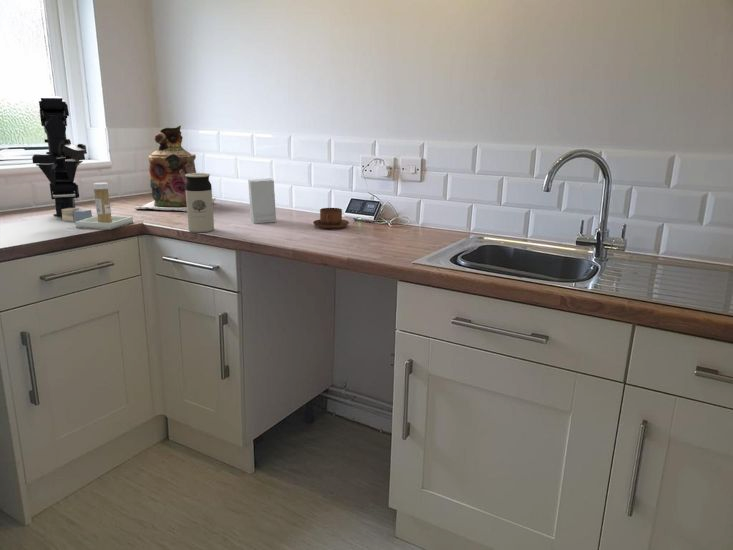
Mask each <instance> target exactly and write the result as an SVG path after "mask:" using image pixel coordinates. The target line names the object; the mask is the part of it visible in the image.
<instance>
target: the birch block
mask: <svg viewBox="0 0 733 550" xmlns="http://www.w3.org/2000/svg"><path fill="white" fill-rule="evenodd" d="M61 210H62V216H61V217H62V221H63V222H74V214H73V211H76V210H80V207H75V208H66V209H61Z"/></svg>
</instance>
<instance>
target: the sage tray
mask: <svg viewBox="0 0 733 550" xmlns="http://www.w3.org/2000/svg"><path fill="white" fill-rule="evenodd" d="M111 218H112V222H111V223H103V222H98V216H97V215H94V216H92V217H91V218H87V219H84V220H80V221H76V222H74V223H75V228H77V229H92V228H93V230H96V229H97V230H113V229H114V230H115V229H118V228H120V226H121V227H124V226H126V225H125V224H127V225H129V223H130V224H133V223H134V219H133V218H134V217H133V216H123V215H111ZM132 222H133V223H132ZM123 225H124V226H123Z"/></svg>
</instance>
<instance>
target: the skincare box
mask: <svg viewBox="0 0 733 550" xmlns="http://www.w3.org/2000/svg"><path fill="white" fill-rule="evenodd" d="M247 181H248V195H249V208H250V210H249V211H250V221H251V222H252V223H253V225H254V224H255V225H256V224H265V223H266V224H267V223H276V222H277V213H276V198H275V197H276V195H275V180H273V178H269V177H268V178H260V179H259V178H257V179H248V180H247Z"/></svg>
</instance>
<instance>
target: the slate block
mask: <svg viewBox="0 0 733 550" xmlns="http://www.w3.org/2000/svg"><path fill="white" fill-rule="evenodd" d="M79 209H80V208H79ZM73 214H74V221H73V222H74V223H75V222H76V221H80V220H84V219H87V218H91V217H93V215H92V209H87V208H85V209H80V210H76V211H73Z"/></svg>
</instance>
